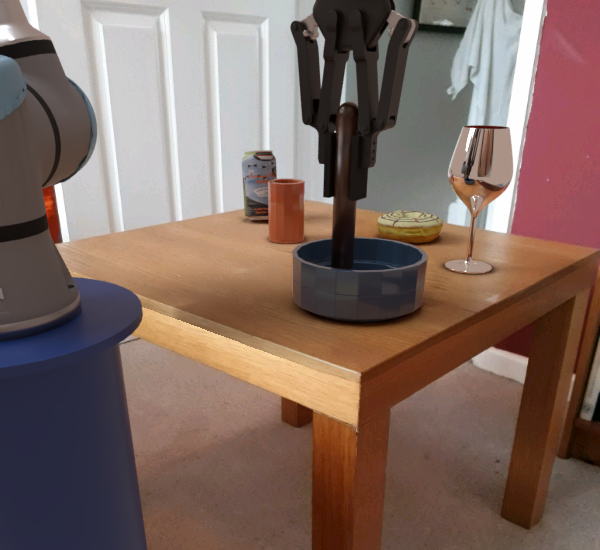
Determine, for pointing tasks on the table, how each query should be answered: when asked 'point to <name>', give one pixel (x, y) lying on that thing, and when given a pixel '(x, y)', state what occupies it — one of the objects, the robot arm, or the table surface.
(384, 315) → the bowl
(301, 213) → the utensil pot
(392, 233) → the decorated donut
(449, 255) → the table surface
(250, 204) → the beverage can
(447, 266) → the wineglass
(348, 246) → the stirring stick
